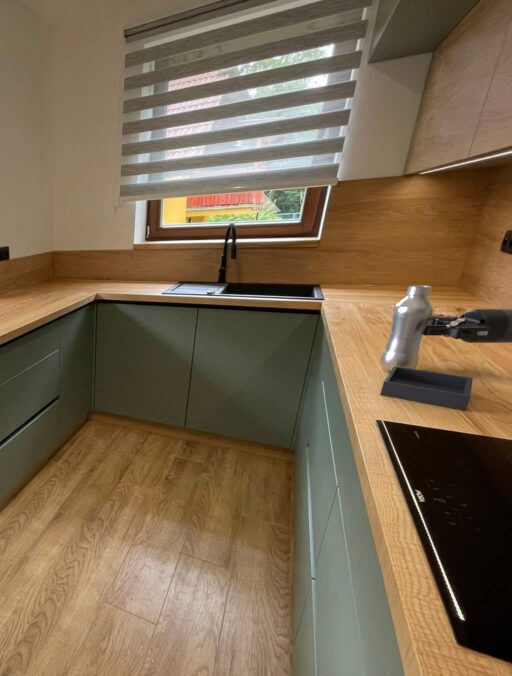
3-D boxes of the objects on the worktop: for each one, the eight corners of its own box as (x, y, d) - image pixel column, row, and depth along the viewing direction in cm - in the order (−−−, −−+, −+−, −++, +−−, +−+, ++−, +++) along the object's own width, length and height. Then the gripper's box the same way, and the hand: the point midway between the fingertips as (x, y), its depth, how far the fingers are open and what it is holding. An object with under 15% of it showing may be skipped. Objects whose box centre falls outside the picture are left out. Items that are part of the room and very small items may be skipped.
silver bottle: (417, 377, 98) (445, 289, 91) (378, 372, 101) (402, 287, 94) (412, 369, 103) (438, 285, 96) (375, 365, 106) (398, 283, 99)
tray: (465, 410, 81) (470, 396, 80) (380, 394, 89) (383, 381, 88) (467, 391, 89) (472, 377, 88) (389, 378, 98) (393, 365, 97)
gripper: (517, 351, 90) (426, 350, 93) (463, 334, 103) (385, 334, 106) (531, 315, 87) (437, 316, 90) (473, 303, 100) (393, 304, 103)
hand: (409, 325), depth 98 cm, fingers open, 8 cm apart
